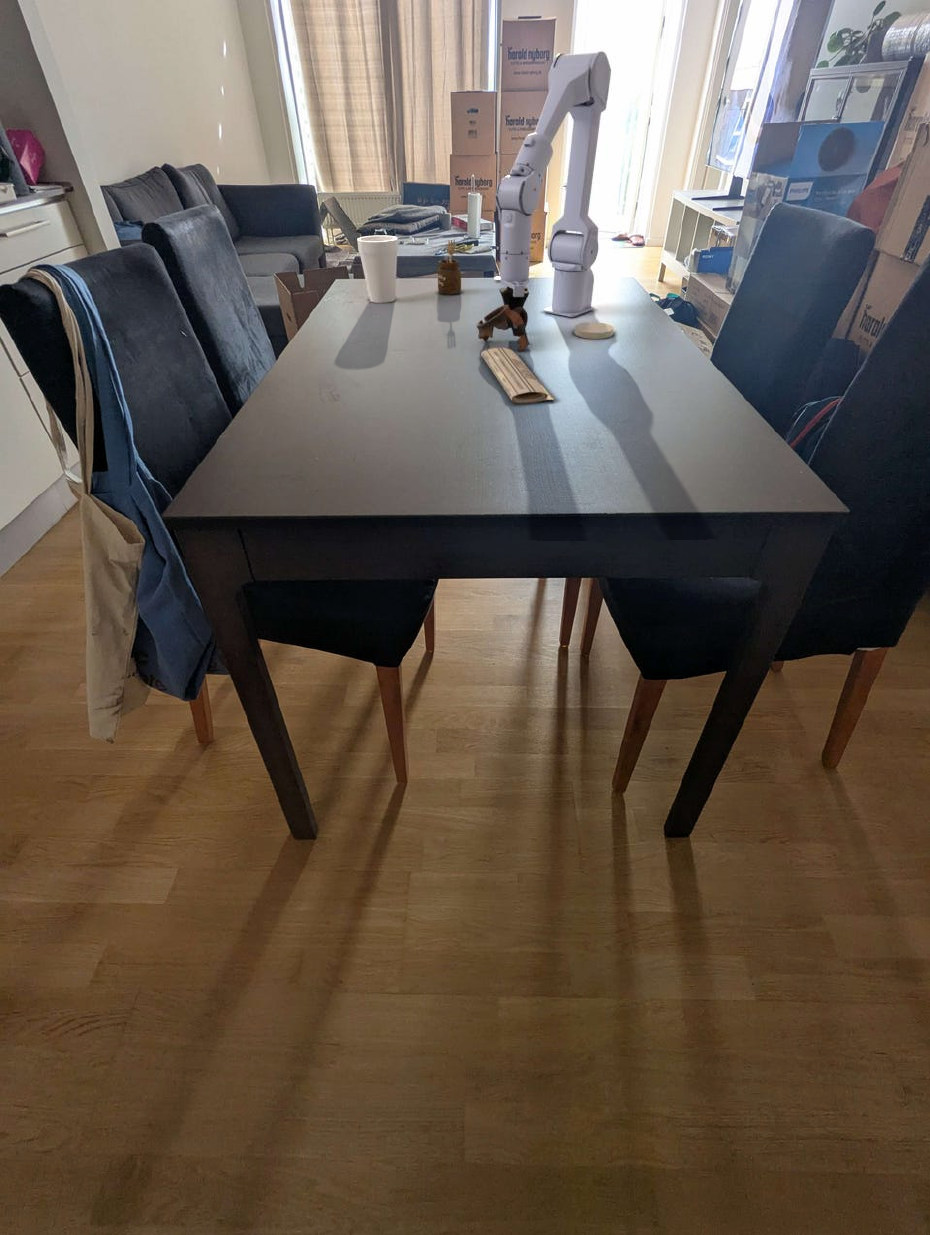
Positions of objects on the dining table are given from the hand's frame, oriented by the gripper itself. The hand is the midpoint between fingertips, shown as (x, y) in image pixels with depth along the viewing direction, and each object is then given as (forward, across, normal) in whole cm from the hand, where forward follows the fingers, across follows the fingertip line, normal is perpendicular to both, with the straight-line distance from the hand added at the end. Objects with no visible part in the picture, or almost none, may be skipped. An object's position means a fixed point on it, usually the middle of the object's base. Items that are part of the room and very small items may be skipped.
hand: (512, 327), depth 127 cm
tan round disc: (+1, +1, +17) cm, 17 cm away
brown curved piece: (+2, +7, -2) cm, 8 cm away
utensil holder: (+2, -38, -11) cm, 40 cm away
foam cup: (+2, -33, -28) cm, 43 cm away
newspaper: (+2, +27, -3) cm, 27 cm away
